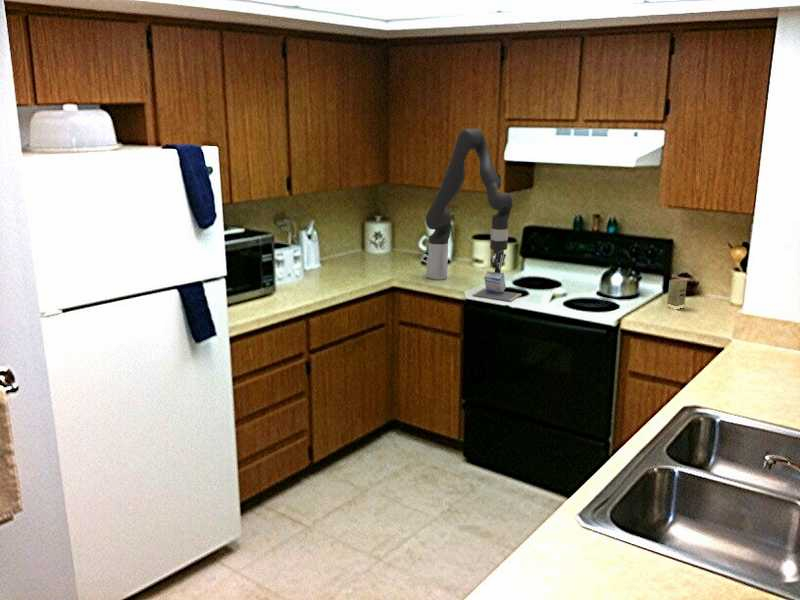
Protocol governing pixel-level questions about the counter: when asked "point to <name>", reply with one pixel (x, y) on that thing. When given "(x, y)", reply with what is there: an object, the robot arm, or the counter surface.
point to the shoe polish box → (677, 292)
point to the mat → (497, 295)
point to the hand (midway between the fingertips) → (497, 276)
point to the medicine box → (494, 282)
